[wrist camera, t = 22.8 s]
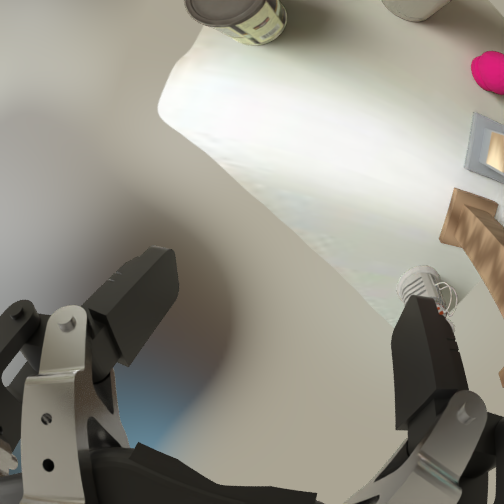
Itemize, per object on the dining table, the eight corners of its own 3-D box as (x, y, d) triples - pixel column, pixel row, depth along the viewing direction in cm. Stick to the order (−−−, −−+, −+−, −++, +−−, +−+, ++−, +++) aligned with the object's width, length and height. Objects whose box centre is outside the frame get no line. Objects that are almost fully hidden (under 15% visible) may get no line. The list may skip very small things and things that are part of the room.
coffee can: (238, -12, 29) (203, -44, 18) (297, 4, 29) (281, -31, 18) (214, 36, 35) (171, 18, 24) (271, 54, 35) (245, 35, 24)
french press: (386, 292, 51) (398, 401, 30) (423, 249, 44) (464, 354, 24) (418, 311, 51) (437, 414, 30) (454, 273, 44) (495, 373, 24)
